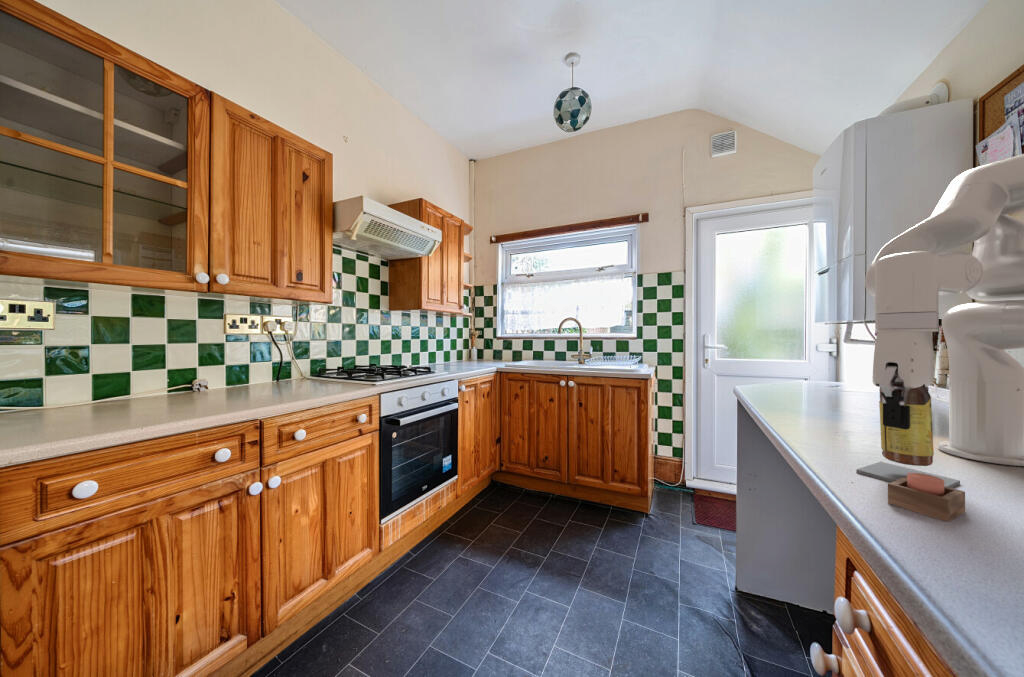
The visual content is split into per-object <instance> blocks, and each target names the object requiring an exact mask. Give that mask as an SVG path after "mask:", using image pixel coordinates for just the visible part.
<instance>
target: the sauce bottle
mask: <svg viewBox="0 0 1024 677" xmlns="http://www.w3.org/2000/svg"><path fill="white" fill-rule="evenodd" d="M894 386H899V387H904V386H903V385H901V384H894ZM928 390H929V389H928ZM928 390H927V388H926V386H925V384H923V386H921V387H917V388H915V389H910V390H909V395H908V401H907V405H906V406H910V428H909V429H900V428H894V427H889V426H884V425H883V403H882V397H883V395H882V394H881V392H882V391H881V389H880V388H879V402H878V403H879V404H878V406H879V422H880V423H879V428H880V429H879V430H880V446H881V450H882V452H881V454H882V456H883V457H884V458H885V459H886V460H888V461H891V462H894V463H898V464H903V465H906V466H907V465H908V466H918V467H929V466H931V465H933V461H934V455H935V454H934V453H935V452H934V435H933V433H934V432H933V411H932V396H931V394H930V392H929V391H928ZM898 393H899V395H900V397H901V392H900V391H898Z"/></svg>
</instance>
